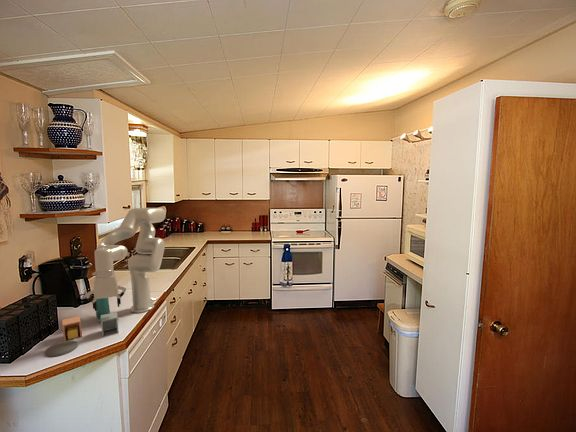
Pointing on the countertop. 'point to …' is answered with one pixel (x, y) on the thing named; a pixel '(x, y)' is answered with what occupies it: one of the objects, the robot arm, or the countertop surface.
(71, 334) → the mustard cube
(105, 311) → the beverage bottle
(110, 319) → the slate cover
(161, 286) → the countertop surface
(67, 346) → the charcoal mat
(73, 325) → the rust cover
